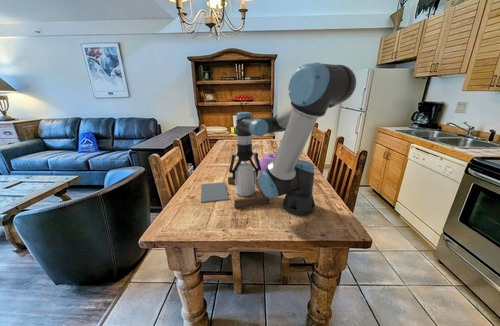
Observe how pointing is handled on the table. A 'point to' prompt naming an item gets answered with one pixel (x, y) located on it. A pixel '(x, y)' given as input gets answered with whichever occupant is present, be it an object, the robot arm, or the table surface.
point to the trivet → (213, 192)
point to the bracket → (250, 201)
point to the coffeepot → (245, 179)
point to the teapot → (265, 161)
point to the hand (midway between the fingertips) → (245, 183)
